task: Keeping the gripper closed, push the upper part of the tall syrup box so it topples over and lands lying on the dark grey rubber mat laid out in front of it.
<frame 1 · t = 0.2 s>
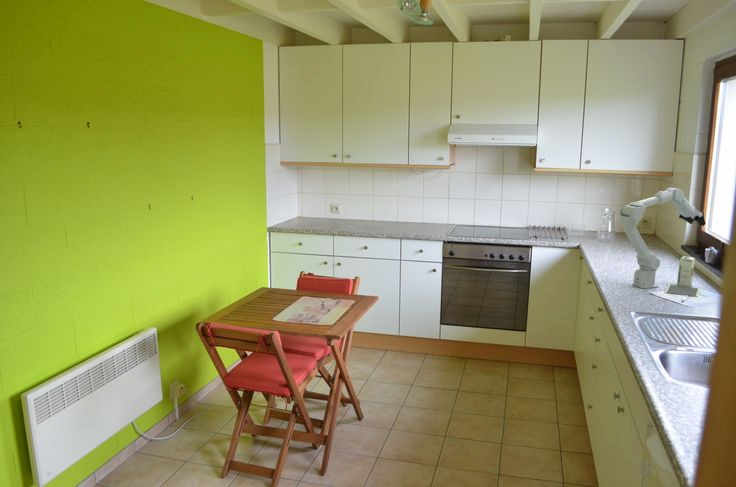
hand: (698, 223, 299), 31 cm above the worktop, tool tilted 45°, fingers open, 7 cm apart
mat: (682, 290, 289), on the worktop
syrup box: (684, 285, 299), on the worktop
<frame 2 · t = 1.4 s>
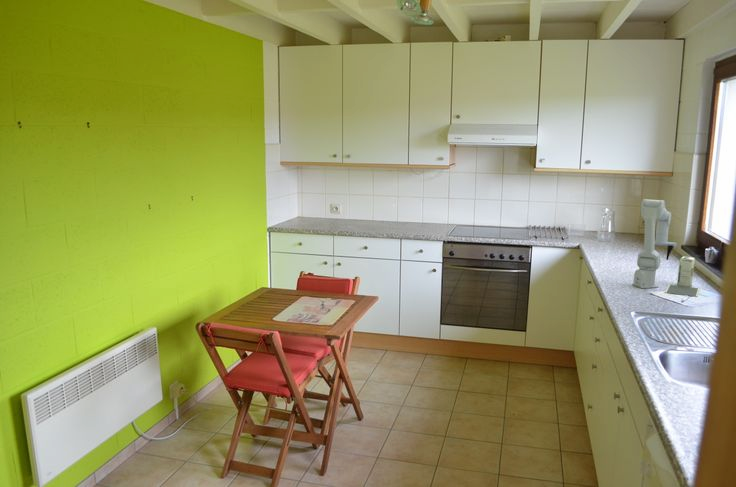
hand: (659, 258, 313), 10 cm above the worktop, tool pointing down, fingers open, 6 cm apart
nothing on the worktop moved.
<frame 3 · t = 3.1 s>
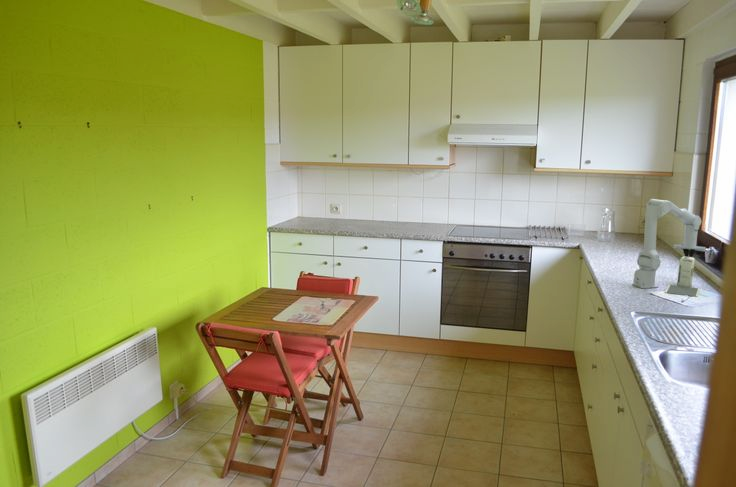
hand: (688, 263, 306), 9 cm above the worktop, tool pointing down, fingers closed
nothing on the worktop moved.
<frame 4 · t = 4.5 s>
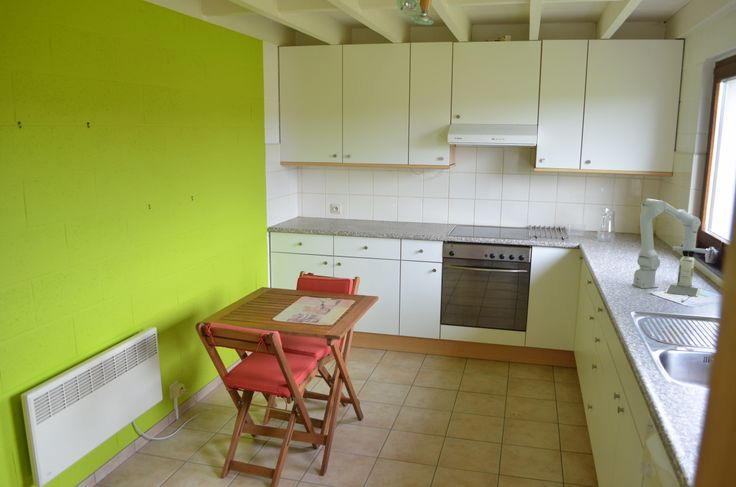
hand: (687, 265, 302), 9 cm above the worktop, tool pointing down, fingers closed
syrup box: (684, 285, 299), on the worktop, touching gripper
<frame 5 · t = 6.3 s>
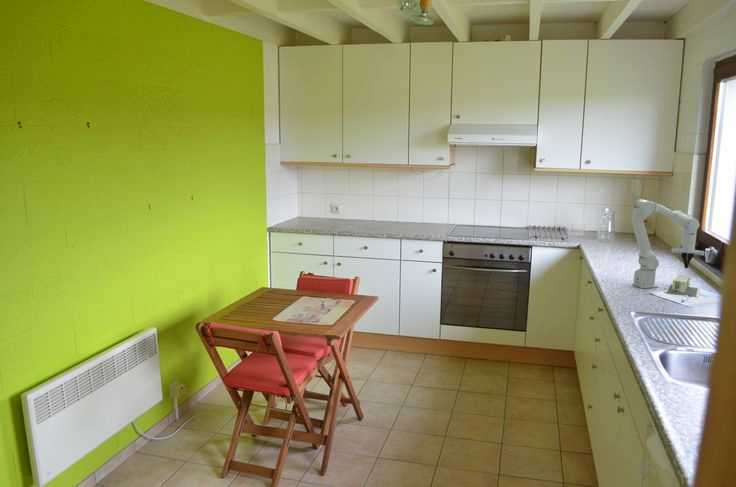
hand: (686, 268, 296), 9 cm above the worktop, tool pointing down, fingers closed
syrup box: (684, 280, 297), point 3 cm above the worktop, touching mat
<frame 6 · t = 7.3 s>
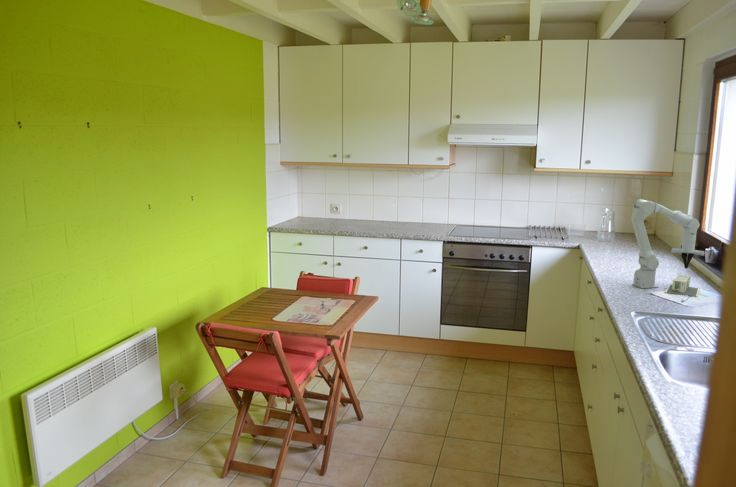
hand: (686, 268, 296), 9 cm above the worktop, tool pointing down, fingers closed
nothing on the worktop moved.
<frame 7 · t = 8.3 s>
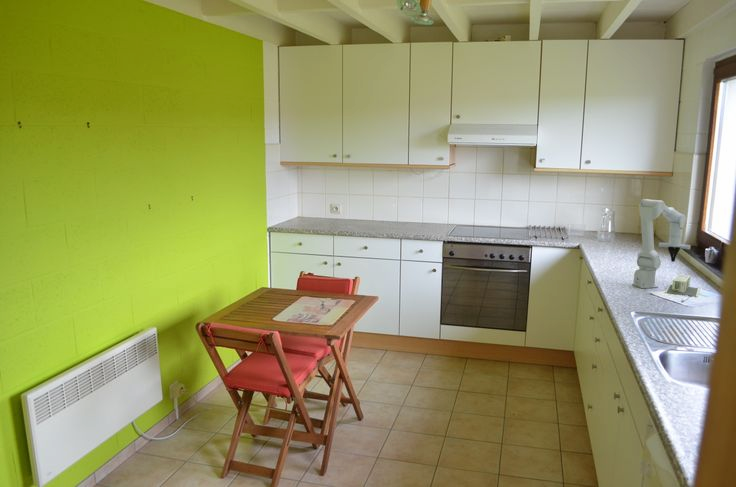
hand: (672, 261, 308), 10 cm above the worktop, tool pointing down, fingers closed
nothing on the worktop moved.
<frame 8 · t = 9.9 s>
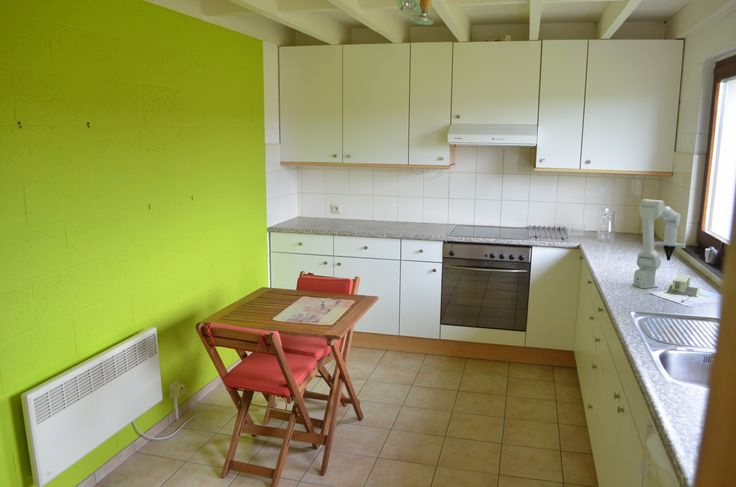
hand: (668, 260, 310), 10 cm above the worktop, tool pointing down, fingers closed
nothing on the worktop moved.
at the end: syrup box tilted 90°; syrup box touching mat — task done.
